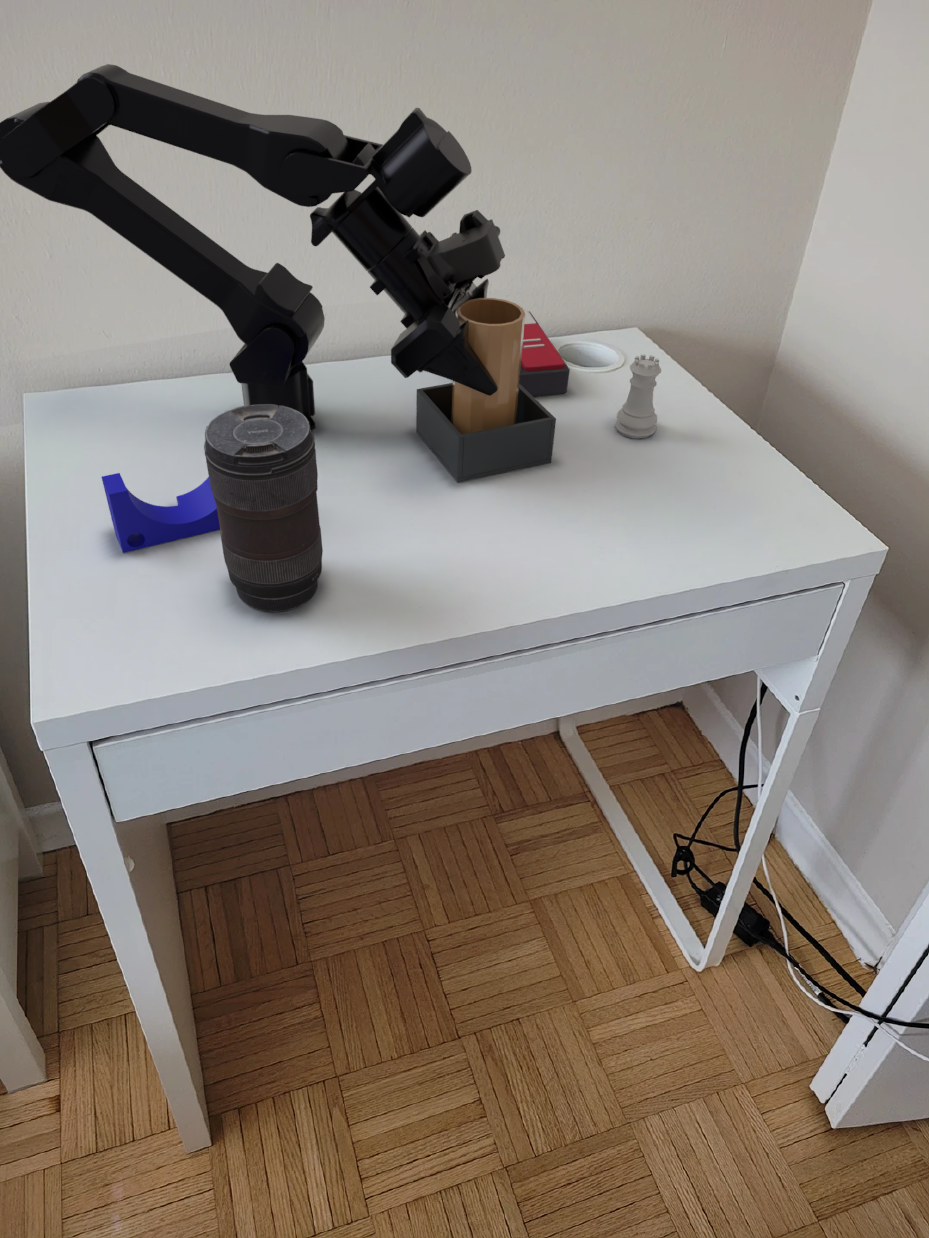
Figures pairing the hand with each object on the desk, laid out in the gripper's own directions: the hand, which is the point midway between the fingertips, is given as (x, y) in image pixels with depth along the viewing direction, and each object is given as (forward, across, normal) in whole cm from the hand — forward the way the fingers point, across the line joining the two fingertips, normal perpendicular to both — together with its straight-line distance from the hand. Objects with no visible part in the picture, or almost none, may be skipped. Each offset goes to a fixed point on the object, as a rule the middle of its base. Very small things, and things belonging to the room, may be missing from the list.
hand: (500, 377), depth 93 cm
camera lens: (-4, -27, +16) cm, 31 cm away
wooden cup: (+4, 0, +6) cm, 7 cm away
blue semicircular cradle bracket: (-12, -20, +24) cm, 33 cm away
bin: (+5, 0, +7) cm, 8 cm away
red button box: (+4, +18, +7) cm, 20 cm away
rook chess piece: (+16, +8, -4) cm, 18 cm away
